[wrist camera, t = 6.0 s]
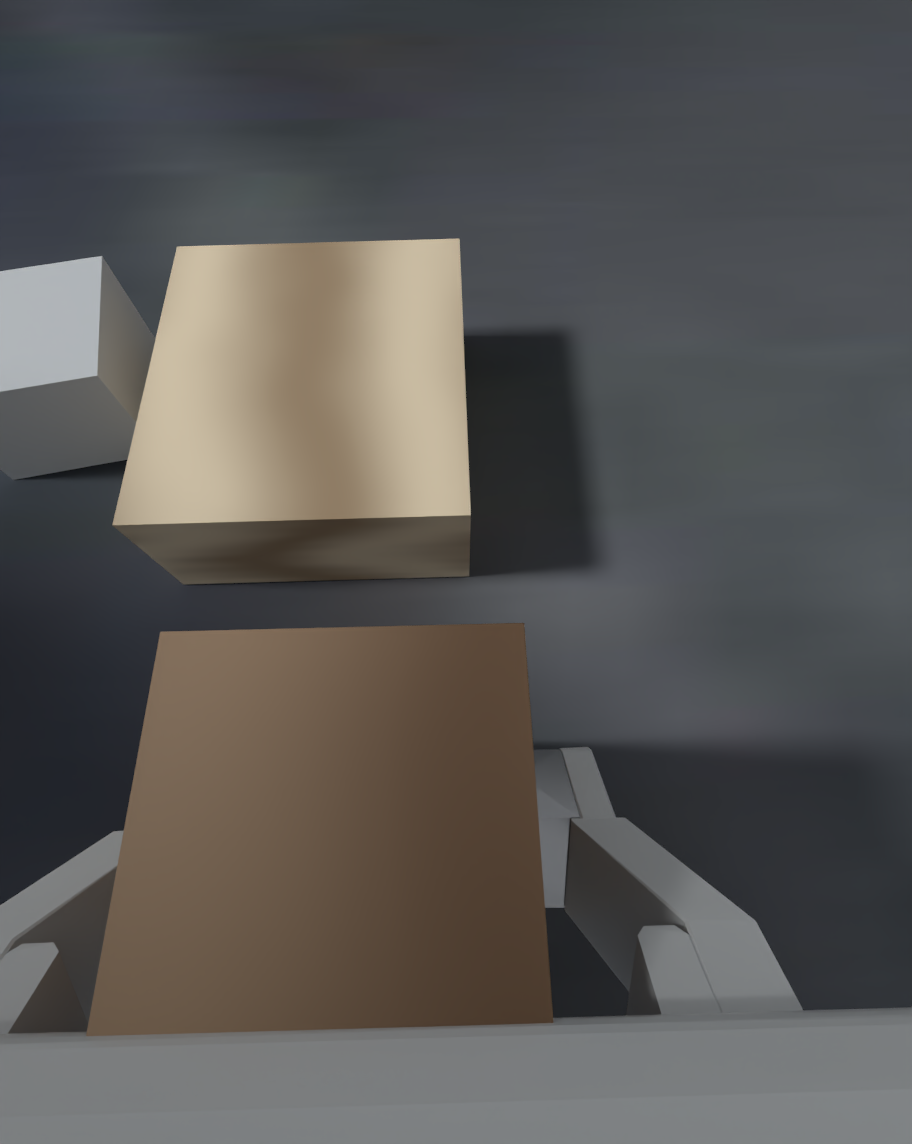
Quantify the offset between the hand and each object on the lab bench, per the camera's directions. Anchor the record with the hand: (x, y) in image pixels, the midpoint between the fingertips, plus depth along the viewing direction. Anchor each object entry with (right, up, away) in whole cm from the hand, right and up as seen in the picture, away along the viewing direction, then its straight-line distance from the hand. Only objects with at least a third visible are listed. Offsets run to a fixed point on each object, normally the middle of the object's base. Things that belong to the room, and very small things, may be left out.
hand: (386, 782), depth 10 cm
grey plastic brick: (-12, +9, +11) cm, 19 cm away
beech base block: (-3, +8, +10) cm, 13 cm away
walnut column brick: (0, -3, +5) cm, 5 cm away
